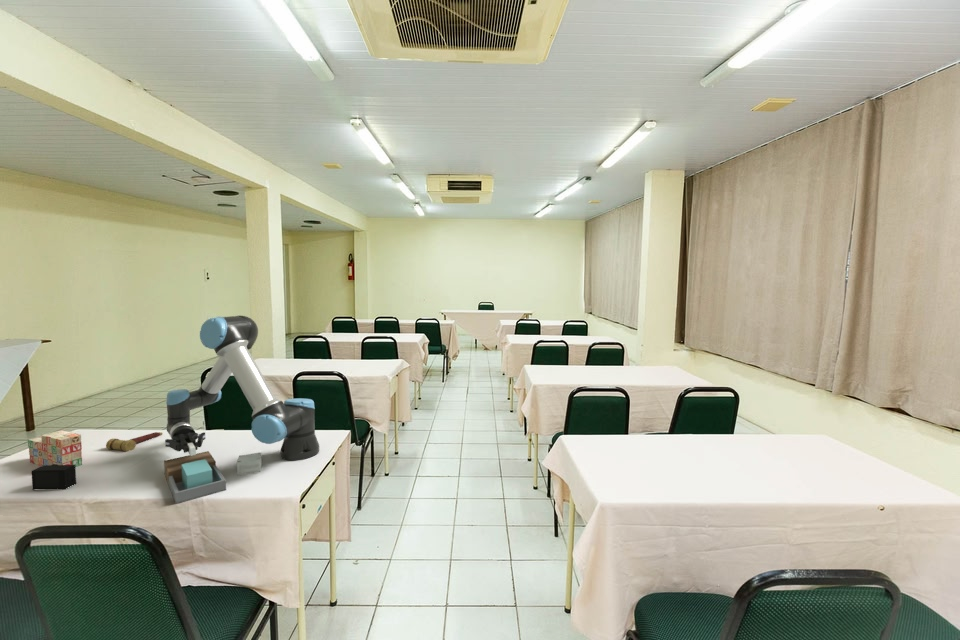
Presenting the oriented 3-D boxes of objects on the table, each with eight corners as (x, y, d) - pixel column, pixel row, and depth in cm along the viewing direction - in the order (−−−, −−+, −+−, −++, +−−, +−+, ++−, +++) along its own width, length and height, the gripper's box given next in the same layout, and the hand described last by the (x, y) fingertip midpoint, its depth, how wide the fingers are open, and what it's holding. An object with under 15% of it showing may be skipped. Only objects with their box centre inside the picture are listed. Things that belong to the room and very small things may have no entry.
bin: (169, 486, 143) (168, 476, 143) (216, 474, 153) (215, 465, 152) (175, 504, 132) (175, 493, 131) (226, 490, 141) (225, 480, 141)
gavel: (153, 427, 194) (171, 429, 192) (153, 437, 194) (171, 438, 192) (105, 440, 174) (125, 442, 172) (105, 451, 174) (125, 453, 172)
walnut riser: (164, 473, 153) (164, 460, 152) (209, 463, 162) (208, 451, 162) (169, 486, 143) (168, 472, 143) (216, 474, 153) (215, 461, 152)
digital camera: (79, 482, 145) (78, 463, 145) (65, 489, 140) (64, 469, 140) (48, 482, 145) (46, 463, 144) (32, 490, 139) (31, 470, 139)
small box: (261, 464, 162) (261, 451, 162) (260, 472, 155) (260, 459, 155) (239, 468, 159) (238, 455, 159) (237, 476, 152) (236, 462, 152)
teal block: (181, 464, 144) (187, 475, 135) (205, 458, 149) (212, 469, 140) (182, 483, 144) (187, 496, 136) (205, 477, 149) (212, 489, 140)
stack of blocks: (29, 462, 161) (27, 432, 160) (50, 456, 167) (48, 427, 166) (62, 471, 154) (60, 439, 153) (83, 465, 159) (81, 434, 159)
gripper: (202, 439, 168) (214, 457, 151) (162, 447, 159) (170, 467, 142) (202, 421, 167) (214, 437, 150) (161, 428, 158) (169, 445, 141)
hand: (193, 451), depth 146 cm, fingers closed
